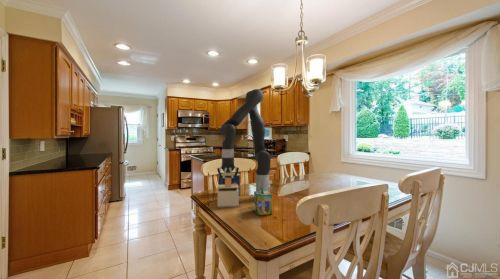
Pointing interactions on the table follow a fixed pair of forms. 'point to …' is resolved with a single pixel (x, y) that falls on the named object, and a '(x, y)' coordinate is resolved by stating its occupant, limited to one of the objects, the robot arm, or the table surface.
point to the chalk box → (262, 202)
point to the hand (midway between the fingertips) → (228, 183)
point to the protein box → (228, 175)
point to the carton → (228, 197)
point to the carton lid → (228, 184)
